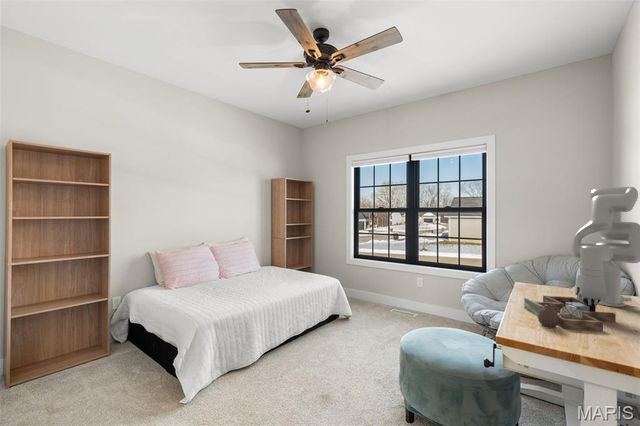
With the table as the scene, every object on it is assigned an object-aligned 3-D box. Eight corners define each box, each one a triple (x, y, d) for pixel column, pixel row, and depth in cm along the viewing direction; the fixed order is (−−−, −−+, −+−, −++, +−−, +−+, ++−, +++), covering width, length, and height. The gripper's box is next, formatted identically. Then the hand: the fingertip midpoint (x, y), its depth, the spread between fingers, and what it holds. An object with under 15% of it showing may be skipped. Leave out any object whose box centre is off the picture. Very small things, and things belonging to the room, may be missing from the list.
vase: (554, 324, 124) (554, 303, 124) (562, 330, 117) (562, 308, 117) (535, 322, 126) (535, 301, 126) (541, 328, 119) (541, 306, 119)
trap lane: (574, 303, 152) (574, 294, 152) (642, 333, 115) (642, 320, 115) (511, 300, 157) (511, 291, 157) (558, 328, 119) (558, 315, 119)
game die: (577, 333, 123) (594, 319, 117) (555, 324, 125) (571, 310, 119) (570, 317, 130) (586, 303, 125) (550, 309, 132) (565, 294, 126)
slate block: (579, 313, 138) (579, 302, 138) (589, 317, 132) (589, 306, 132) (565, 312, 138) (565, 302, 138) (574, 317, 132) (574, 306, 132)
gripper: (602, 272, 137) (602, 311, 137) (567, 270, 139) (566, 309, 139) (616, 275, 129) (616, 317, 129) (578, 274, 132) (578, 315, 132)
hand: (590, 313), depth 134 cm, fingers closed
